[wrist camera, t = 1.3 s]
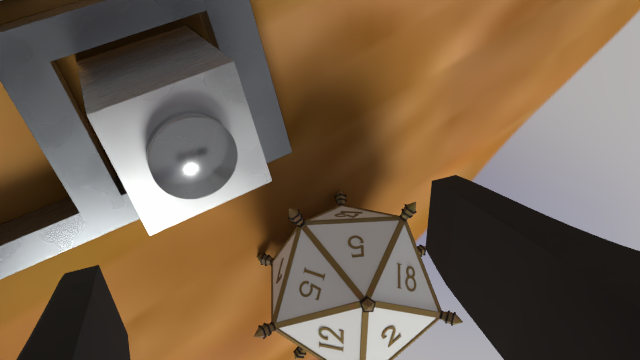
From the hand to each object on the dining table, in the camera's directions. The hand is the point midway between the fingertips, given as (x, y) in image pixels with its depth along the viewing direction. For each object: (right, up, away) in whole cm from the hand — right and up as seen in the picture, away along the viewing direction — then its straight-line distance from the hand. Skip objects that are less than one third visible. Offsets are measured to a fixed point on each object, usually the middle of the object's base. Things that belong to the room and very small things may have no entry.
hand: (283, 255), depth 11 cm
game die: (0, -1, +15) cm, 15 cm away
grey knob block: (-6, +5, +8) cm, 11 cm away
